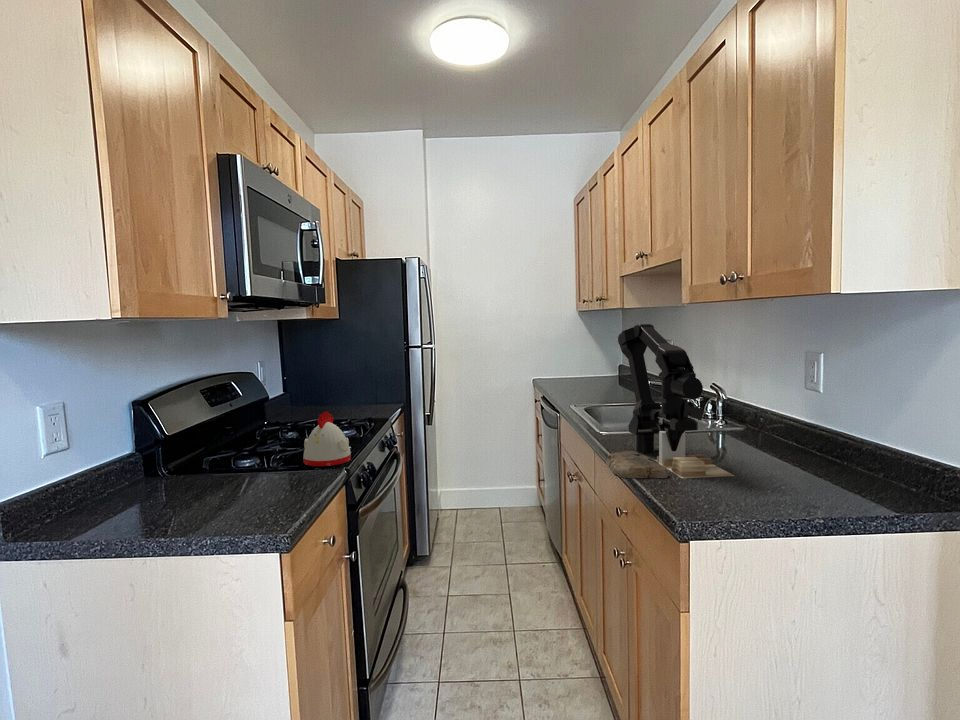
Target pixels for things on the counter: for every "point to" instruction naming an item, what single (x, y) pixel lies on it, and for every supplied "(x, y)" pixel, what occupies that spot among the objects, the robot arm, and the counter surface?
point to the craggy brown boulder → (635, 465)
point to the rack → (709, 467)
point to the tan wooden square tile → (689, 473)
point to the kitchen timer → (326, 444)
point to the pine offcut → (688, 461)
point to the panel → (665, 448)
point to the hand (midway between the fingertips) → (672, 450)
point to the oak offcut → (688, 468)
